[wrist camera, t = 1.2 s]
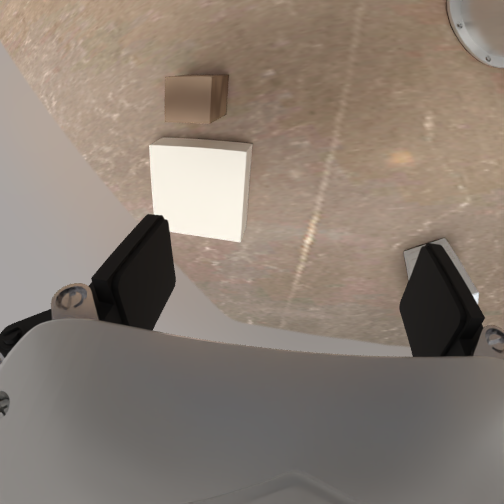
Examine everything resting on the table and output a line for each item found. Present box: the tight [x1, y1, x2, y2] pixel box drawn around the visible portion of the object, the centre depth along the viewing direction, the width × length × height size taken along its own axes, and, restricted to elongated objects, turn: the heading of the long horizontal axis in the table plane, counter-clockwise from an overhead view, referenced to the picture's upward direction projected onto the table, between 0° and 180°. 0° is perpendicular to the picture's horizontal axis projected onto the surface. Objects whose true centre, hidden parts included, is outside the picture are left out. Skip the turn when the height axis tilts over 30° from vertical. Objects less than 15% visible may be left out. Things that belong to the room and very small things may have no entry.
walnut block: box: [165, 75, 229, 124], centre depth 30 cm, size 5×5×7 cm
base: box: [149, 137, 252, 242], centre depth 38 cm, size 12×12×4 cm
